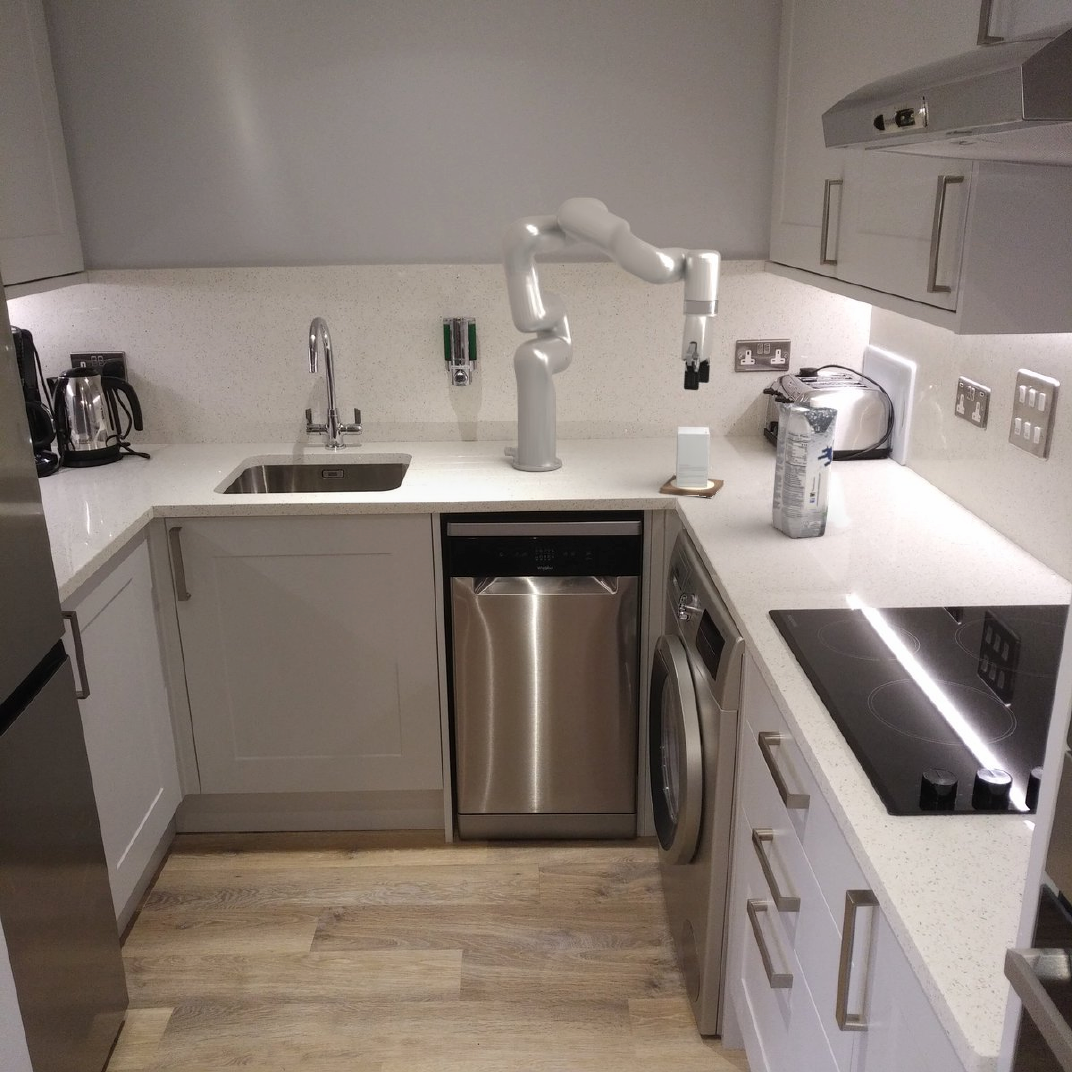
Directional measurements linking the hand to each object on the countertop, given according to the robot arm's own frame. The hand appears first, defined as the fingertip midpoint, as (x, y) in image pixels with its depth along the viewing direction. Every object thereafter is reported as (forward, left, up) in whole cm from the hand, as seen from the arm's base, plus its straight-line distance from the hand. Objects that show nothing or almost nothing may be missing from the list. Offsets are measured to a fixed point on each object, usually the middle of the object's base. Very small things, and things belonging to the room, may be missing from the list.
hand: (696, 385), depth 227 cm
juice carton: (+28, -23, -24) cm, 43 cm away
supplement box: (0, 0, -23) cm, 23 cm away
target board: (0, 0, -24) cm, 24 cm away
